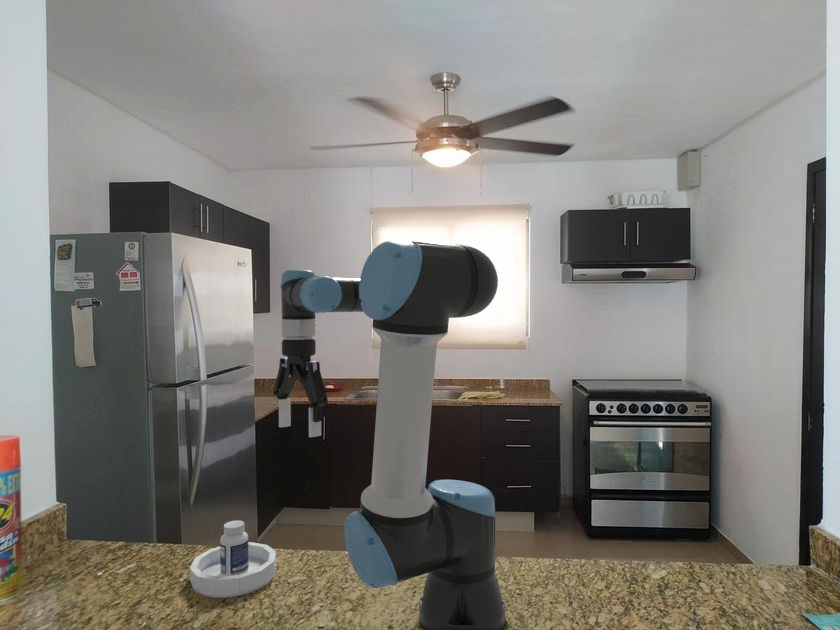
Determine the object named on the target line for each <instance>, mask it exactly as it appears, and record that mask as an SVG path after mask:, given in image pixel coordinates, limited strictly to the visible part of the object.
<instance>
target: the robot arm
mask: <svg viewBox="0 0 840 630" xmlns="http://www.w3.org/2000/svg"><path fill="white" fill-rule="evenodd" d="M280 283H281V284H280V289H281V293H280V294H281V295H280V296H281V337H282V338H284V339H282V340H281V355H282V356H283V357H280V358H279V364H278V365H279V366H278V367H279V368H278V372H277V376H276V380H275V384H274V388H273V396H276V399H278V427H279V428H287V427H291V426H292V425H291V424H292V422H291V421H292V420H291V419H292V413H291V412H292V410H291V409H292V407H291V406H292V404H291V402H292V401H291V392H292V390H293V388H294V385H295V383H296V381H298V382H299V383H301V384H302V387H303V389H304V391H305V395H306V396H307V399H308V401H309V405H308V406H307V407H308V438H315V437H320V436H321V437H322V412H323V411H322V410H323V409H322V407H323V406H325V405H328V403H329V400H328V396H327V392H326V388H325V385H324V381H323V377H322V374H321V364H320V361H319V360H312V358H311V357H312V356H314V355H316V354H317V353H316V352H317V350H316V347H317V346H316V342H317V341H316V340H315V339H314V337H315V336H316V327H317V326H316V314H319V313H323V314H324V313H325V314H326V313H351V312H352V313H364V315H365V316H366V317H368V318H369V319H371V320H372V322H371V323H372V325H371V329H373V331H374V332H375V333H376V334H377V335H378V336H379V339H380V350H379V353H380V354H379V365H378V367H379V368H378V381H377V395H376V396H377V397H376V413H375V426H374V428H375V429H374V439H373V440H374V441H373V453H372V454H373V457H372V472H371V484H370V485H368V486H367V487H366V488H364V489H363V491H362V493H361V496H360V507H359V509H360V510H359V511H353V512H352V513H350V514H349V515H348V516H347V517H346V518H345V522H344V527H343V528H344V529H343V532H344V542H345V547H346V551H347V554H348V557H349V559H350V562H351V564H352V568H353V570H354V571H355V573H356V575H357V576H358V577H359V579H360V580H361V582H363V584H365V586H367V587H370V588H371V589H381V588H384V587H389V586H396V585H397V584H398V583H401V582H404V581H407V580H410V579H413V578H416V577H419V576H423V575H425V574H426V575H427V576H426V580H425V582H424V585H423V586H424V587H423V591H422V594H421V595H420V598H419V602H418V619H419V622H420V624H421V625H422V627H424V629H426V630H503V627H504V626H505V623H506V604H505V601H504V597H503V596H502V593H501V588H500V585H499V581H498V579H497V575H496V517H497V513H496V506H495V497H494V494H493V493H492V492H491V490H489V489H488V488H487V487H486V486H483V485H481V484H478V483H475V482H470V481H465V480H458V479H436V480H434V481H431V482H430V484H429V485H428V488H426V481H427V471H428V470H427V469H428V467H427V466H428V456H429V455H428V454H429V446H430V444H429V443H430V432H431V419H432V418H431V417H432V409H433V407H432V406H433V394H434V384H435V383H434V382H435V372H436V371H435V370H436V368H435V367H436V359H437V358H436V357H437V346H438V343H439V342H440V341H441V340H442V339H443V338H445V337H446V336H447V335H448V332H449V322H450V321H449V320H450V319H452V318H453V319H455V318H456V319H457V318H460V319H461V318H466V317H470V316H474V315H478V314H479V313H481V312H483V311H484V310H485V309H487V307H488V306H489V305H490V304H491V303H492V302H493V300H494V299H495V296H496V295H497V290H498V287H499V285H498V284H499V278H498V273H497V270H496V267H495V265H494V263H493V262H492V260H491V259H490V258H489V256H488V255H486V254H485V253H483V251H481V250H480V249H478V248H475V247H473V246H470V245H466V244H451V243H450V244H449V243H441V242H439V243H438V242H428V241H419V240H412V239H408V240H407V239H406V240H386V241H384V242H381V243H380V244H378V245H377V246H375V247H374V248H373V249H372V251H371V253H369V255H368V257H367V258H366V260H365V262H364V264H363V267H362V270H361V274H360V278H353V277H330V276H328V275H316V274H315V273H314V272H313V271H312V270H308V269H292V270H290V269H289V270H287V269H286V270H284V271H283V272H282V273H281V282H280Z"/></svg>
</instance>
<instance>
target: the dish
mask: <svg viewBox="0 0 840 630" xmlns="http://www.w3.org/2000/svg"><path fill="white" fill-rule="evenodd" d="M248 564H249V567H248V571H247V572H246V573H243V574H240V575H234V576H222V575H221V571H220V546H217V547H214V548H210V549H208V550H207V551H205V552H202V553H201V554H200V555H197V556H195V558H194V559H193V561H192V563H191V565H190V567H189V581H190V583H191V587H192V590H193V591H194V592H195V593H197V594H198V595H200V596H203V597H207V598H213V599H226V598H234V597H240V596H243V595H247V594H250V593H251V594H252V592H253V593H254V592H256V591H258V590H259V589H262V588H264V587H265V586H267V585H268V584H269V583H270V582H271V581H273V579H274V577H275V574H276V567H277V550H276V551H275V549H274V548H272V547H271V546H269V545H268V544H264V543H258V542H252V541H251V542H250V541H248Z"/></svg>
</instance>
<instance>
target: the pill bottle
mask: <svg viewBox="0 0 840 630" xmlns="http://www.w3.org/2000/svg"><path fill="white" fill-rule="evenodd" d="M245 527H246V526H245V522H244V521H243V520H231V521H228V522H225V523H224V525H223V533H224V534H223V535H221V537H220V540H219V544H220V545H219V547H220V571H221V575H222V576H234V575H240V574H243V573H246V572H247V571H248V567H249V564H248V542H249V535H248V533H247V532H246V531H245V529H246V528H245Z"/></svg>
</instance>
